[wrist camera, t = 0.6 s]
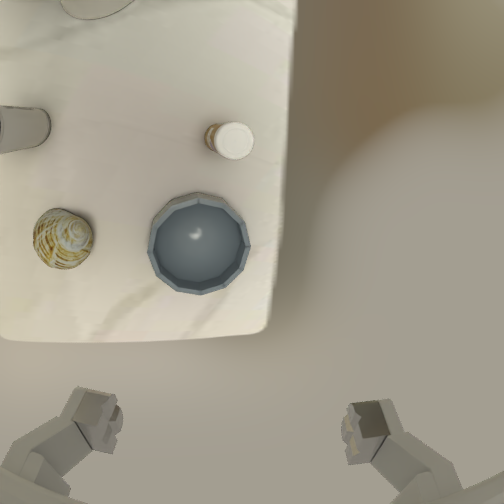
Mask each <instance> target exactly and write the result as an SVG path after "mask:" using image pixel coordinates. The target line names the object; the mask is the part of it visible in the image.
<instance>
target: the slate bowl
mask: <svg viewBox="0 0 504 504" xmlns="http://www.w3.org/2000/svg"><path fill="white" fill-rule="evenodd" d="M250 247H251V245H250V241H249V237H248V233H247V229H246V225H245V222H244V220H243V219H242V218H241V217H240V215H239V214H238V213H237V212H236V211H235V210H234V209H233V208H232V207H230V206H229V205H228V204H227V203H226V202H225V201H224V200H223V199H222V198H219V197H215V196H211V195H206V194H202V193H198V192H196V193H192V194H189V195H186V196H183V197H179V198H176V199H173V200H171V201H170V202H169V203H168V204H167V205H166V206H165V207H164V208H163V209H162V211H161V212H160V213H159V214H158V215H157V216H156V217H155V218H154V220H153V225H152V229H151V234H150V240H149V245H148V251H147V253H148V256H149V258H150V261H151V264H152V266H153V269H154V271H155V274H156V276H157V277H158V278H160V279H161V280H162V281H163V282H165V283H166V284H167V285H169V286H170V287H171V288H172V289H174V290H175V291H177V292H183V293H189V294H196V295H204V294H207V293H210V292H213V291H217V290H220V289H223V288H226V287H227V286H228V285H229V284H230V283H231V282H232V281H233V280H234V279H235V278H236V277H237V276H238V275H239V274H240V273H241V272H242V271H243V270H244V267H245V263H246V260H247V257H248V254H249V251H250Z"/></svg>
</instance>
